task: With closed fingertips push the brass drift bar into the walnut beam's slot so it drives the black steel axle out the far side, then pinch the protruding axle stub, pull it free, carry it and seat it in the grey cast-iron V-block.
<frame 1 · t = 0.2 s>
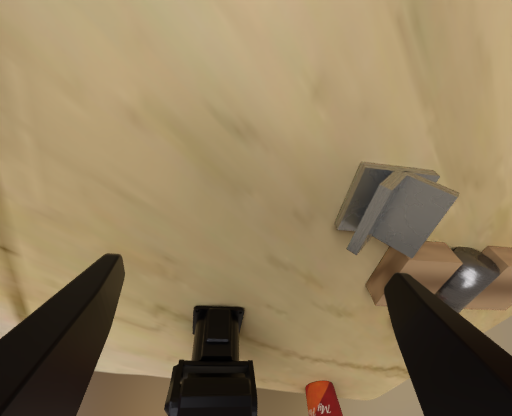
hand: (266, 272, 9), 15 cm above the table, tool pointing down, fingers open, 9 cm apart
paper cup: (318, 385, 54), on the table
beam: (446, 267, 33), on the table
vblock: (380, 198, 26), on the table
axle: (445, 266, 33), on the table
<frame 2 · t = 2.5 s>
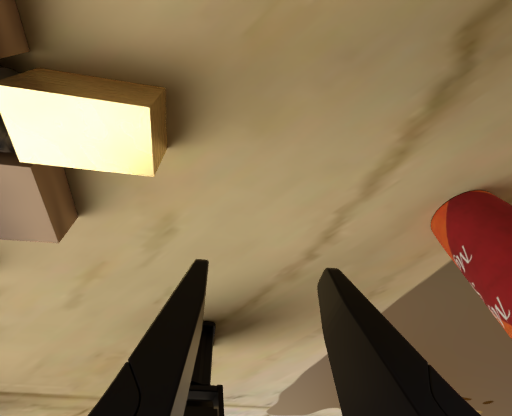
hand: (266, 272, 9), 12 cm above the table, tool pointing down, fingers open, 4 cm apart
paper cup: (461, 214, 24), on the table
drift: (109, 111, 17), on the table
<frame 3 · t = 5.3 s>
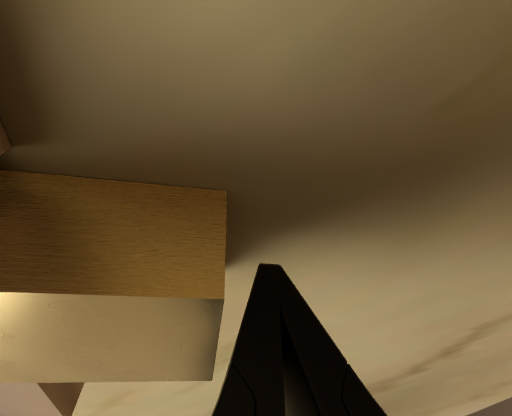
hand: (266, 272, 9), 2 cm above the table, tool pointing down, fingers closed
drift: (120, 229, 9), on the table, touching axle, gripper
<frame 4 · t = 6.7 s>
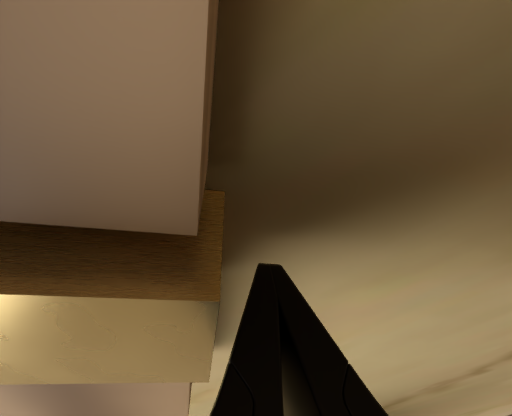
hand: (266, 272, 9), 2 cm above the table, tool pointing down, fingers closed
beam: (82, 226, 9), on the table
drift: (117, 229, 9), on the table, touching axle, gripper
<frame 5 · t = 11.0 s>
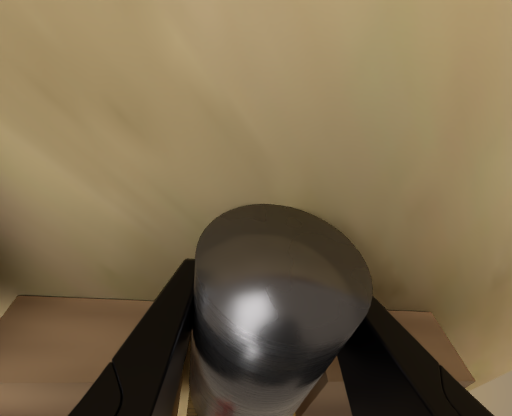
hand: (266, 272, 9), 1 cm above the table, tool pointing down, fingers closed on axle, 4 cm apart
beam: (237, 349, 14), on the table
axle: (254, 275, 11), on the table, touching gripper
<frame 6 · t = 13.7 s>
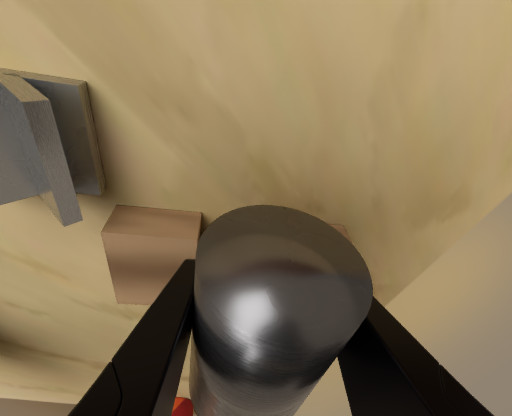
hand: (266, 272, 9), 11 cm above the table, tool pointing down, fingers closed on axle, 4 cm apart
paper cup: (176, 402, 45), on the table
beam: (231, 251, 24), on the table
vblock: (35, 133, 16), on the table
axle: (254, 276, 11), point 10 cm above the table, touching gripper
when the fingers open (4 cm above the table, at t = 16.3 s): axle stays where it is, resting on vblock.
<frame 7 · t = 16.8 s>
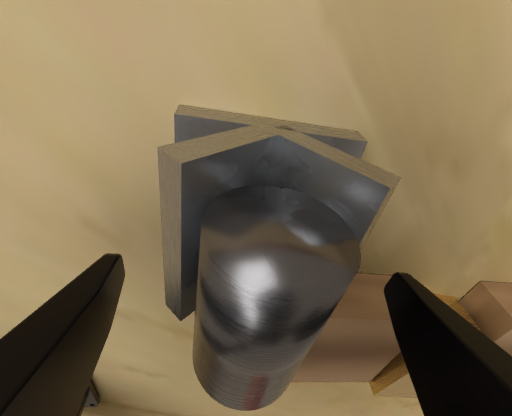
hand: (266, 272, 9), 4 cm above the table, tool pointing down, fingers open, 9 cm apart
beam: (411, 313, 20), on the table
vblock: (257, 193, 12), on the table
axle: (254, 255, 11), point 2 cm above the table, touching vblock
drift: (400, 318, 20), on the table
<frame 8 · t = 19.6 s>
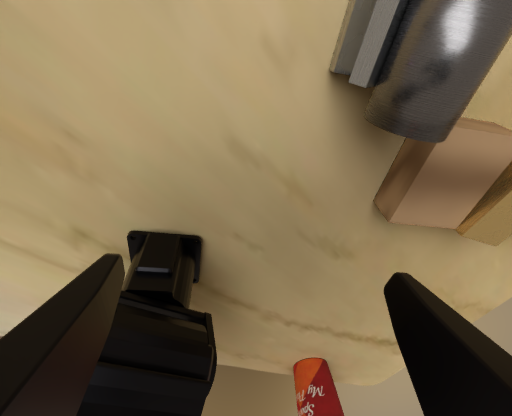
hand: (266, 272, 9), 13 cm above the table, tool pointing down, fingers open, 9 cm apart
paper cup: (309, 364, 44), on the table
beam: (489, 173, 23), on the table
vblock: (405, 13, 16), on the table
axle: (413, 47, 15), point 2 cm above the table, touching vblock
drift: (478, 182, 24), on the table
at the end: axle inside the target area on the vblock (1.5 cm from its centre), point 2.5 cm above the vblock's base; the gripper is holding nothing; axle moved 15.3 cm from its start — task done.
